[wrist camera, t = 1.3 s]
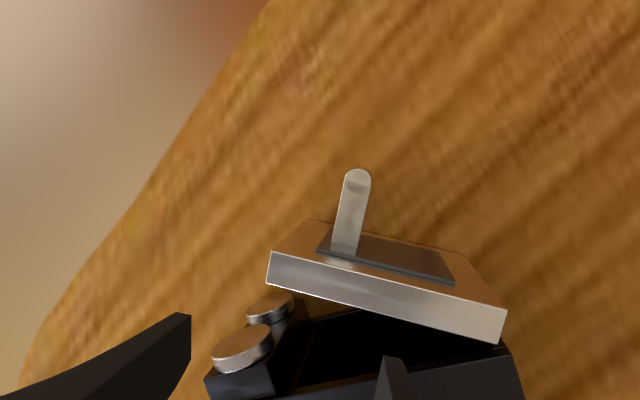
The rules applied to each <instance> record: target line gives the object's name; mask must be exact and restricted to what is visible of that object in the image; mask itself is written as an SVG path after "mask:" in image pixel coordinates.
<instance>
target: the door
mask: <svg viewBox="0 0 640 400" xmlns="http://www.w3.org/2000/svg"><path fill="white" fill-rule="evenodd" d="M372 183H373V176H372V173H371V172H370V171H369V170H368V169H367V168H365V167H356V168H353V169H351V170H350V171H349V172H347V174H346V175H345V178H344V182H343V187H342V192H341V197H340V201H339V206H338V211H337V216H336V221H335V225H334V224H329V223H325V222H321V221H316V220H312V219H307V220H306V221H305V222H303V223H302V224H301V225H300V226H299V227H298V228H296V229H295V230H294V231H293V232H292V233H291V234H290V235H288V236H287V237H286V238H285V239H284V240H283V241H281V242H280V243H279V244H278V245H277V246H276V247H275V248H273V249H272V250H271V253H270V258H269V264H268V270H267V275H266V281H265V282H266V283H267V284H271V285H275V286H278V287H282V288H286V289H290V290H293V291H297V292H301V293H305V294H308V295H312V296H316V297H320V298H323V299H327V300H331V301H335V302H338V303H342V304H346V305H350V306H353V307H357V308H361V309H364V310H368V311H372V312H376V313H379V314H383V315H387V316H391V317H394V318H398V319H402V320H406V321H409V322H413V323H417V324H421V325H424V326H428V327H432V328H436V329H439V330H443V331H447V332H451V333H454V334H458V335H462V336H466V337H469V338H473V339H477V340H480V341H484V342H488V343H492V344H495V345H497V344H498V342H499V339H500V335H501V332H502V329H503V326H504V323H505V319H506V316H507V313H508V309H507V308H506V307H505V305H504V304H503V303H502V302H501V301H500V299H499V298H498V297H497V296H496V295H495V293H494V292H493V291H492V290H491V288H490V287H489V286H488V285H487V284H486V282H485V281H484V280H483V279H482V277H481V276H480V275H479V274H478V273H477V271H476V270H475V269H474V268H473V267H472V265H471V264H470V263H469V262H468V260H467V259H466V258H465V257H464V256H463V255H462V254H458V253H454V252H450V251H445V250H441V249H437V248H432V247H428V246H424V245H420V244H415V243H411V242H407V241H402V240H398V239H394V238H389V237H385V236H381V235H377V234H372V233H368V232H364V231H362V228H363V223H364V219H365V214H366V210H367V205H368V201H369V196H370V192H371V187H372Z"/></svg>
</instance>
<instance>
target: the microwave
mask: <svg viewBox="0 0 640 400" xmlns="http://www.w3.org/2000/svg"><path fill="white" fill-rule="evenodd" d="M245 314H246V317H247V320H248V323H247V325H246V326H245V327H244V328H243V329H240V330H238V331H236V332H234V333H232V334H230V335H229V336H227V337H226V338H224V339H223V340H221V341H220V342H219V343H218V344H217V345H216V346H215V347H214V348H213V350H212V352H211V358H212V360H213V363H214V366H213V367H212V369H211V370H210V371H209V372H208V374H207V375H206V376H205V377H204V379H203V381H204V384H205V386H206V389H207V392H208V394H209V397H210V400H374V396H375V391H376V386H377V382H378V377H379V373H380V368H381V364H382V359H383V355H385V356H390V357H395V358H400V359H401V360H402V361H403V363H404V365H405V368H406V370H407V373H408V375H409V378H410V380H411V382H412V384H413V387H414V389H415V391H416V393H417V395H418V397H419V399H420V400H526V399H525V395H524V392H523V389H522V386H521V382H520V379H519V376H518V372H517V369H516V366H515V363H514V359H513V356H512V354H511V352H510V351H509V349H508V348H507V346H506V345H505V343H504V342H503V340H502V338H501V337H500V339H499V342H498V344H497V345H495V344H492V343H488V342H484V341H480V340H477V339H473V338H469V337H466V336H462V335H458V334H454V333H451V332H447V331H443V330H439V329H436V328H432V327H428V326H424V325H421V324H417V323H413V322H409V321H406V320H402V319H398V318H394V317H391V316H387V315H383V314H379V313H376V312H372V311H368V310H364V309H361V308H352V309H348V310H344V311H340V312H336V313H332V314H328V315H323V316H319V317H315V318H311V319H309V316H308V313H307V310H306V307H305V305H304V302H303V299H299V300H296V301H294V299H293V296H292V294H291V293H289V292H281V293H276V294H273V295H270V296H267V297H265V298H263V299H261V300H259V301H257V302H255V303H254V304H252V305H251V306H250V307H249V308H248V309H247V310H246V312H245Z"/></svg>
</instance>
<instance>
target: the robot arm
mask: <svg viewBox="0 0 640 400" xmlns="http://www.w3.org/2000/svg"><path fill="white" fill-rule="evenodd" d="M190 360H191V315H188V314H183V313H178V312H176V313H174V314H172V315H170V316H168V317H167V318H165V319H163V320H161V321H160V322H158V323H156V324H154V325H153V326H151V327H149V328H148V329H146V330H144V331H142V332H141V333H139V334H137V335H135V336H134V337H132V338H130V339H128V340H127V341H125V342H123V343H121V344H119V345H118V346H116V347H114V348H112V349H110V350H108V351H106V352H104V353H102V354H100V355H98V356H96V357H95V358H93V359H91V360H89V361H87V362H84V363H82V364H80V365H78V366H76V367H74V368H72V369H69V370H67V371H65V372H62V373H60V374H58V375H56V376H53V377H51V378H48V379H46V380H43V381H41V382H38V383H35V384H33V385H30V386H27V387H25V388H22V389H20V390H17V391H14V392H12V393H9V394H6V395H3V396H0V400H167V399H168V398H169V396H170V395H171V393H172V392H173V391H174V389H175V388H176V386H177V384H178V383H179V381H180V379H181V377H182V376H183V374H184V372H185V370H186V368H187V366H188V364H189V362H190ZM374 400H420V399H419V397H418V395H417V393H416V391H415V389H414V387H413V384H412V382H411V380H410V378H409V375H408V373H407V370H406V368H405V365H404V363H403V361H402V360H401V359H400V358H395V357H390V356H385V355H383V359H382V364H381V368H380V373H379V377H378V382H377V386H376V391H375V396H374Z"/></svg>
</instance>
